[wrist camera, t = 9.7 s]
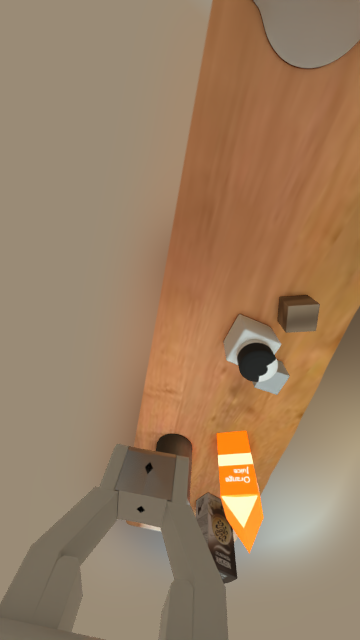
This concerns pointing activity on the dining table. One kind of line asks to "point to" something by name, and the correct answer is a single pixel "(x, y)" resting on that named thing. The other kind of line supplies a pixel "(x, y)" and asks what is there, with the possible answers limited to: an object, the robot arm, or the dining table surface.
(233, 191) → the dining table surface
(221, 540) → the coffee box
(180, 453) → the pillar candle
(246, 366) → the medicine bottle
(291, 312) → the walnut block
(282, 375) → the grey painted block
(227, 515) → the orange juice
